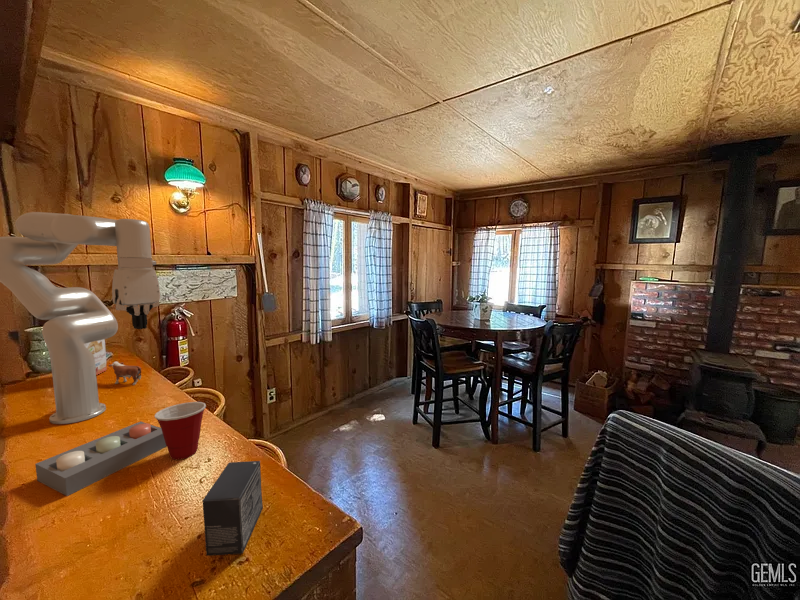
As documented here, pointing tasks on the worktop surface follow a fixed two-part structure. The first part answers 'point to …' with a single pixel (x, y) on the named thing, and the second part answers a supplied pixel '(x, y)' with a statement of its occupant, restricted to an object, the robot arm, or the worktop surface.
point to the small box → (232, 508)
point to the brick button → (139, 430)
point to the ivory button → (70, 460)
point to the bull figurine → (126, 372)
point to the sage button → (107, 444)
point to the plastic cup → (181, 428)
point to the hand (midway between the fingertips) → (140, 328)
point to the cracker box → (98, 354)
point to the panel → (99, 460)
